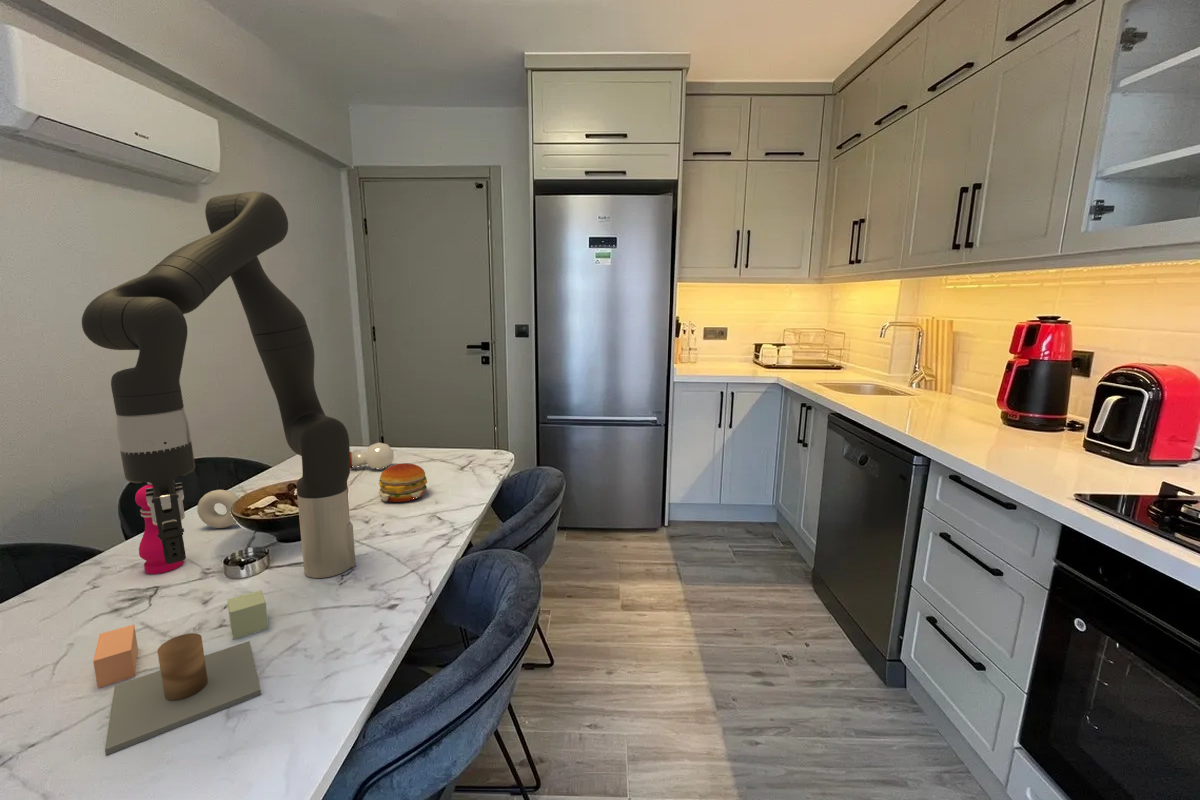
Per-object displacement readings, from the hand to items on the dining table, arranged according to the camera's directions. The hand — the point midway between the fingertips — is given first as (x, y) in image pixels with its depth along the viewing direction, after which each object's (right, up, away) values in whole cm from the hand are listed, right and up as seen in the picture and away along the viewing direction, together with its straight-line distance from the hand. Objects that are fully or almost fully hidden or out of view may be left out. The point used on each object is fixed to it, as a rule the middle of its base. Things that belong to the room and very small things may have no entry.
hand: (174, 550), depth 73 cm
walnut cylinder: (+3, -19, -1) cm, 19 cm away
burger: (+3, -7, +77) cm, 77 cm away
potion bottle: (-18, -3, +103) cm, 105 cm away
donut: (-34, -11, +54) cm, 64 cm away
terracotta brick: (-12, -19, +4) cm, 23 cm away
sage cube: (+1, -18, +14) cm, 23 cm away
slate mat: (+3, -20, -1) cm, 20 cm away
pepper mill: (-31, -14, +34) cm, 48 cm away
